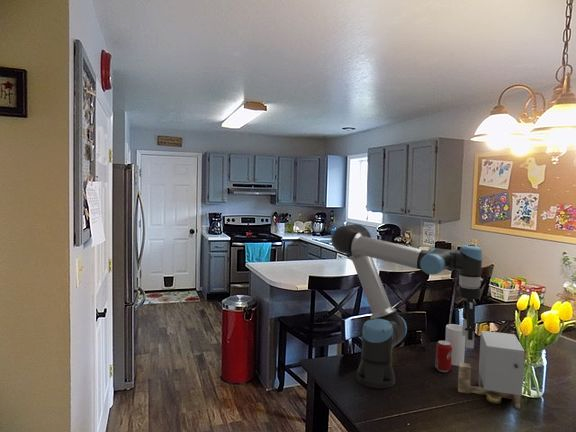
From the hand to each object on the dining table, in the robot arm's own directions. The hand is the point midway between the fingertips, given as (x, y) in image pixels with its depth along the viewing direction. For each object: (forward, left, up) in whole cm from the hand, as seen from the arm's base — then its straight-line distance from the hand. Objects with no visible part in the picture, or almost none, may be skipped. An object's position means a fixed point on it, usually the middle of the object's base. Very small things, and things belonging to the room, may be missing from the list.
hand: (467, 341), depth 161 cm
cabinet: (+11, -1, -19) cm, 22 cm away
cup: (-3, +27, -19) cm, 34 cm away
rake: (+7, -3, -19) cm, 21 cm away
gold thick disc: (+9, -5, -19) cm, 22 cm away
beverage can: (-8, +16, -19) cm, 26 cm away
